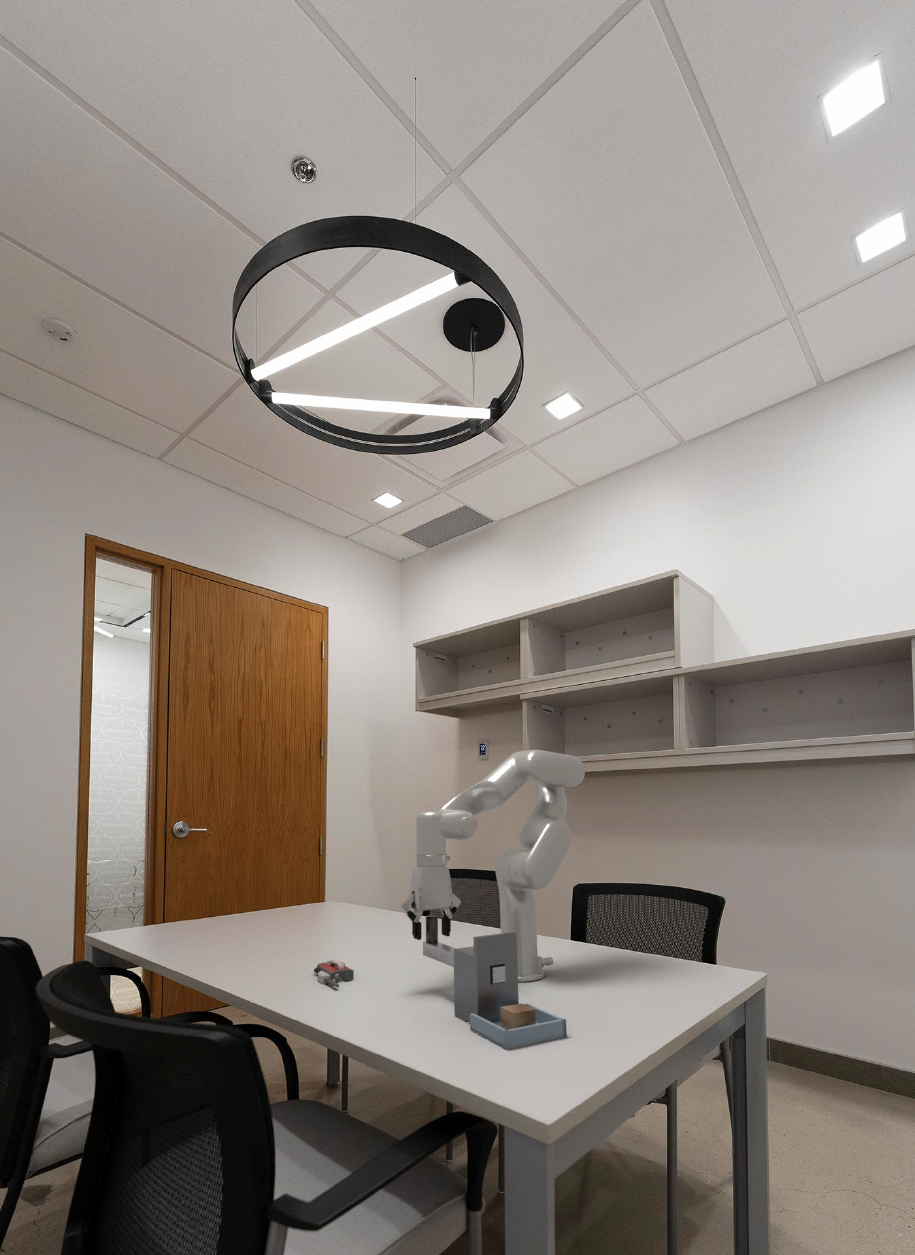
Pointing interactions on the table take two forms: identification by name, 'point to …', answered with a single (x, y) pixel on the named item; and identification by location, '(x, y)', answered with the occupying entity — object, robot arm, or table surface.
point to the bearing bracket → (485, 977)
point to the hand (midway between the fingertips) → (431, 936)
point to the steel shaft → (450, 950)
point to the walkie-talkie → (333, 972)
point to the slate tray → (521, 1030)
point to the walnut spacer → (517, 1016)
